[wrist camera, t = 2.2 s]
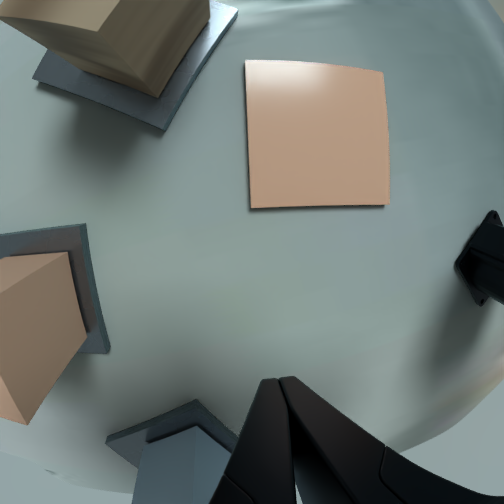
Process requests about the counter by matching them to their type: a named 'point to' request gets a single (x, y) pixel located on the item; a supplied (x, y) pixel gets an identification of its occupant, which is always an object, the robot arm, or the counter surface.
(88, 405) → the counter surface
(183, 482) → the blue-grey rectangular block
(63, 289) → the tan block
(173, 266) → the counter surface
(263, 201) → the card
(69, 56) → the brown wooden block
